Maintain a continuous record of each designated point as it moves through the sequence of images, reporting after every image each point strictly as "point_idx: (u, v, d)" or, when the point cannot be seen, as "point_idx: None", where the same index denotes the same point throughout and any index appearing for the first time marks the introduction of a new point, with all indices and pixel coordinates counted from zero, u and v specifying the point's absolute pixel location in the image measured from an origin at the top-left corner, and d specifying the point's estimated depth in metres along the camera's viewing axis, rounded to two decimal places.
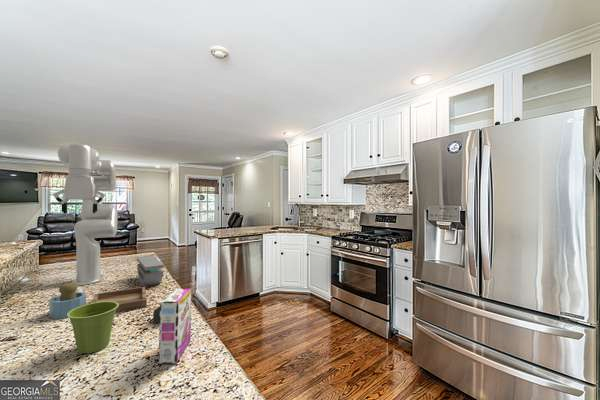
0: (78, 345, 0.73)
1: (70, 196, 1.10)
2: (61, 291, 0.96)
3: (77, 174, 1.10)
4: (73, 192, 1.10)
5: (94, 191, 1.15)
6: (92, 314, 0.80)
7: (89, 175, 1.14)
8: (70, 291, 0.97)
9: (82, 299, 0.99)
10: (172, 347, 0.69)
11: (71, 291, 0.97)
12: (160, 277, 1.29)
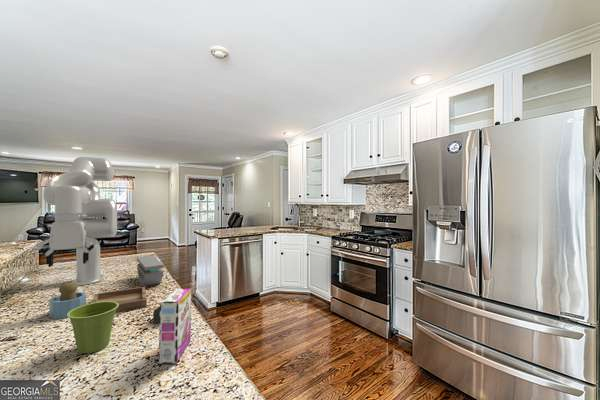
0: (78, 345, 0.73)
1: (56, 246, 0.95)
2: (61, 291, 0.96)
3: (64, 221, 0.95)
4: (60, 241, 0.95)
5: (85, 238, 1.00)
6: (92, 314, 0.80)
7: (79, 220, 0.98)
8: (70, 291, 0.97)
9: (82, 299, 0.99)
10: (172, 347, 0.69)
11: (71, 291, 0.97)
12: (160, 277, 1.29)
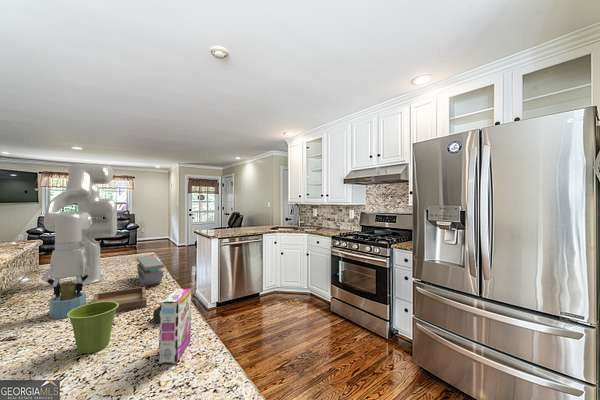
0: (78, 345, 0.73)
1: (56, 275, 0.95)
2: (61, 291, 0.96)
3: (64, 250, 0.95)
4: (60, 270, 0.95)
5: (85, 265, 1.00)
6: (92, 314, 0.80)
7: (79, 248, 0.99)
8: (70, 291, 0.97)
9: (82, 299, 0.99)
10: (172, 347, 0.69)
11: (71, 291, 0.97)
12: (160, 277, 1.29)
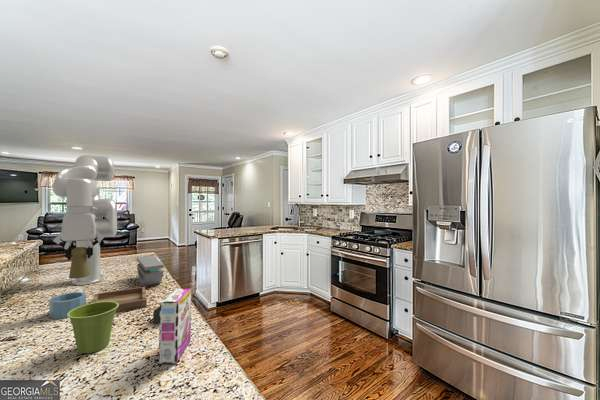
0: (78, 345, 0.73)
1: (68, 238, 0.97)
2: (72, 254, 0.98)
3: (76, 213, 0.97)
4: (71, 233, 0.97)
5: (95, 230, 1.02)
6: (92, 314, 0.80)
7: (89, 213, 1.00)
8: (81, 254, 0.99)
9: (82, 299, 0.99)
10: (172, 347, 0.69)
11: (82, 254, 0.99)
12: (160, 277, 1.29)
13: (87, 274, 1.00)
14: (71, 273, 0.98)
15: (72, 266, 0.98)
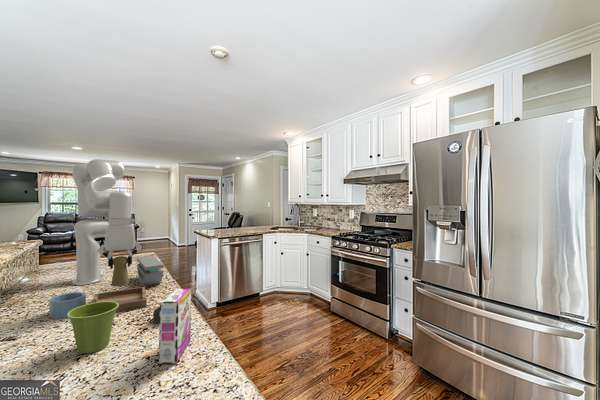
0: (78, 345, 0.73)
1: (111, 248, 1.04)
2: (115, 263, 1.04)
3: (118, 225, 1.03)
4: (114, 244, 1.04)
5: (134, 240, 1.08)
6: (92, 314, 0.80)
7: (130, 224, 1.07)
8: (123, 263, 1.05)
9: (82, 299, 0.99)
10: (172, 347, 0.69)
11: (124, 263, 1.06)
12: (160, 277, 1.29)
13: (127, 282, 1.07)
14: (114, 281, 1.04)
15: (115, 274, 1.04)
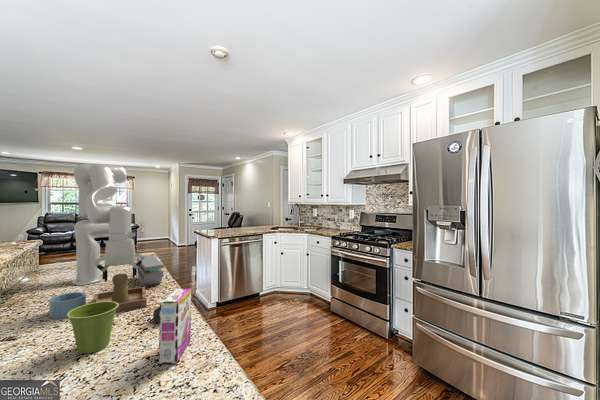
0: (78, 345, 0.73)
1: (111, 263, 1.04)
2: (114, 281, 1.05)
3: (118, 240, 1.03)
4: (114, 258, 1.04)
5: (134, 254, 1.08)
6: (92, 314, 0.80)
7: (130, 238, 1.07)
8: (122, 281, 1.06)
9: (82, 299, 0.99)
10: (172, 347, 0.69)
11: (123, 281, 1.06)
12: (160, 277, 1.29)
13: (127, 299, 1.07)
14: (113, 299, 1.05)
15: (114, 292, 1.05)
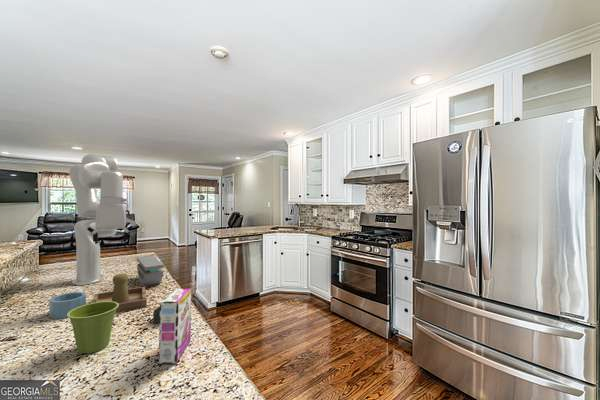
0: (78, 345, 0.73)
1: (102, 226, 1.05)
2: (115, 281, 1.05)
3: (109, 203, 1.05)
4: (105, 222, 1.06)
5: (125, 219, 1.10)
6: (92, 314, 0.80)
7: (121, 203, 1.09)
8: (122, 281, 1.06)
9: (82, 299, 0.99)
10: (172, 347, 0.69)
11: (124, 281, 1.06)
12: (160, 277, 1.29)
13: (127, 299, 1.07)
14: (114, 299, 1.05)
15: (115, 292, 1.05)
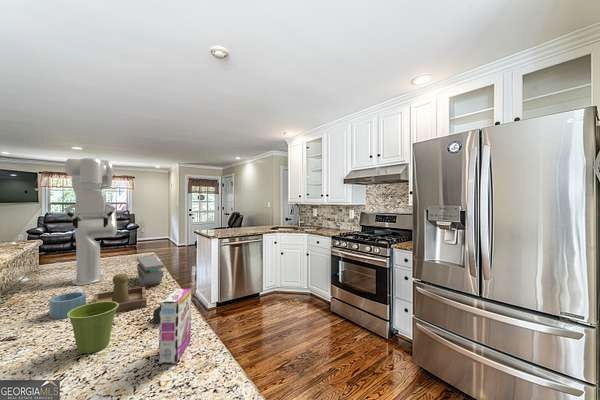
0: (78, 345, 0.73)
1: (81, 211, 1.09)
2: (115, 281, 1.05)
3: (88, 189, 1.09)
4: (84, 207, 1.10)
5: (105, 205, 1.14)
6: (92, 314, 0.80)
7: (100, 189, 1.13)
8: (122, 281, 1.06)
9: (82, 299, 0.99)
10: (172, 347, 0.69)
11: (123, 281, 1.06)
12: (160, 277, 1.29)
13: (127, 299, 1.07)
14: (114, 299, 1.05)
15: (115, 292, 1.05)
